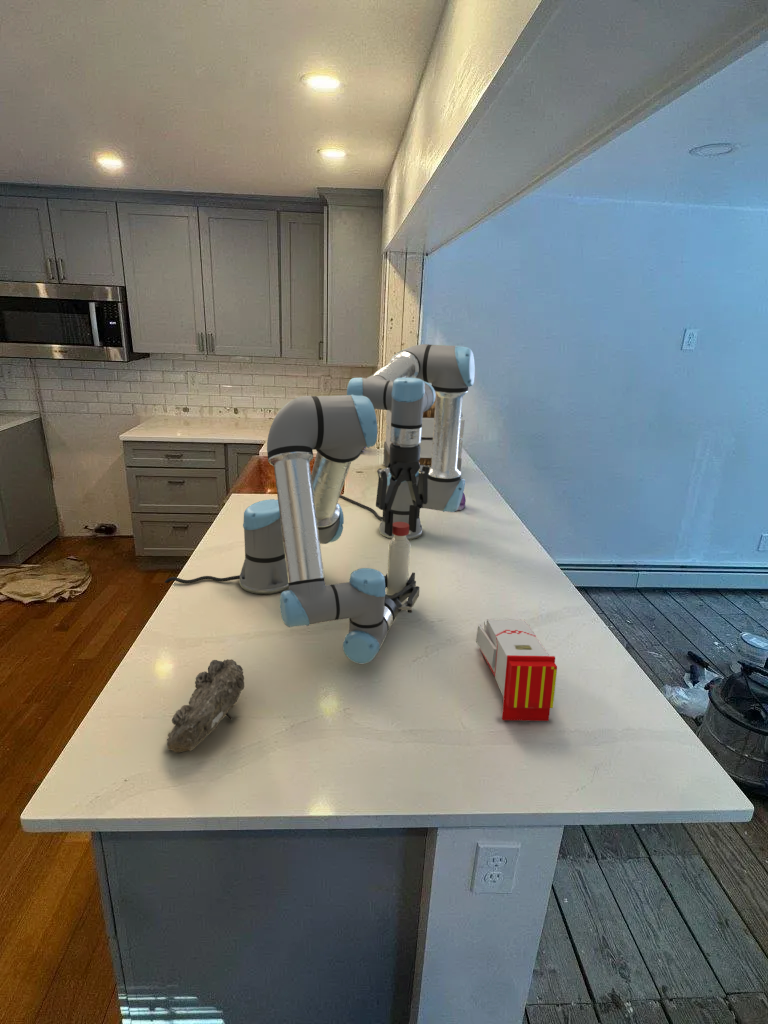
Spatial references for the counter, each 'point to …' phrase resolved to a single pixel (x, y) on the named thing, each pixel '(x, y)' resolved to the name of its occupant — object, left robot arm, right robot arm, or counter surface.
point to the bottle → (398, 564)
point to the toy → (519, 668)
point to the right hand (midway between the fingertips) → (400, 532)
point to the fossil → (206, 705)
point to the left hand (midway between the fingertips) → (402, 575)
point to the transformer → (423, 438)
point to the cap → (400, 529)
